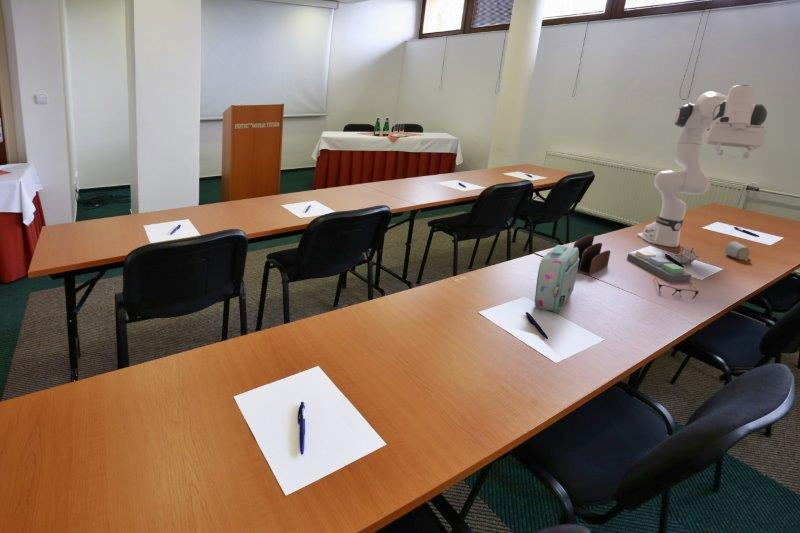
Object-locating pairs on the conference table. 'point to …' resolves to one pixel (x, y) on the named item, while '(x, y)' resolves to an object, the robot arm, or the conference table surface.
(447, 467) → the conference table surface
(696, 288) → the eyeglasses
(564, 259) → the lunch box
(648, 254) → the cream button
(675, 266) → the green button
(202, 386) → the conference table surface
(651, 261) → the slate blue button
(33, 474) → the conference table surface
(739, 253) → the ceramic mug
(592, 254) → the letter holder
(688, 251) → the game die
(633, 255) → the button panel
